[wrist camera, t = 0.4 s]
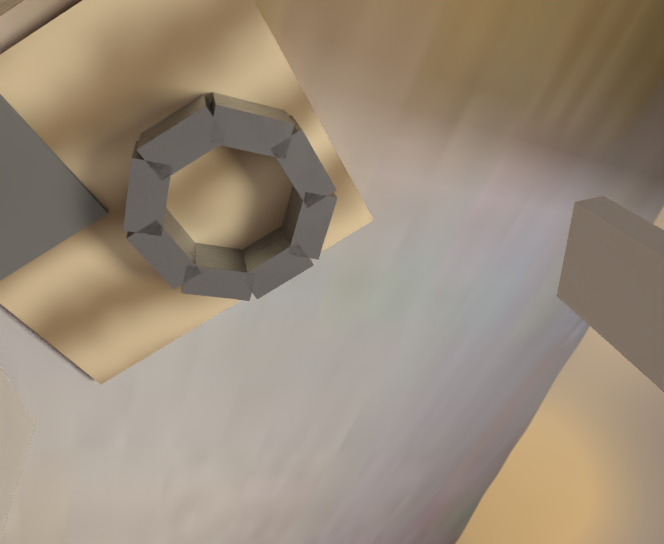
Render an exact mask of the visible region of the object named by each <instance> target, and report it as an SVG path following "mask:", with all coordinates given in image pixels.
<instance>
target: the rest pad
mask: <svg viewBox="0 0 664 544" xmlns="http://www.w3.org/2000/svg"><path fill="white" fill-rule="evenodd" d="M106 214H108V210H107V209H106V208H105V207H104V206H103V205H102V204H101V202H100V201H99V200H98V199H97V198H96V197H95V196H94V195H93V194H92V193H91V192H90V191H89V189H88V188H87V187H86V186H85V185H84V184H83V183H82V182H81V181H80V180H79V179H78V178H77V176H76V175H75V174H74V173H73V172H72V171H71V170H70V169H69V168H68V167H67V166H66V165H65V163H64V162H63V161H62V160H61V159H60V158H59V157H58V156H57V155H56V154H55V153H54V152H53V150H52V149H51V148H50V147H49V146H48V145H47V144H46V143H45V142H44V141H43V140H42V138H41V137H40V136H39V135H38V134H37V133H36V132H35V131H34V130H33V129H32V128H31V127H30V125H29V124H28V123H27V122H26V121H25V120H24V119H23V118H22V117H21V116H20V115H19V114H18V112H17V111H16V110H15V109H14V108H13V107H12V106H11V105H10V104H9V103H8V102H7V101H6V99H5V98H4V97H3V96H2V95H1V94H0V281H1V280H2V279H4V278H6V277H7V276H9V275H10V274H12V273H14V272H15V271H17V270H18V269H20V268H22V267H23V266H25V265H26V264H28V263H29V262H31V261H33V260H34V259H36V258H37V257H39V256H41V255H42V254H44V253H45V252H47V251H49V250H50V249H52V248H53V247H55V246H57V245H58V244H60V243H61V242H63V241H65V240H66V239H68V238H69V237H71V236H73V235H74V234H76V233H77V232H79V231H80V230H82V229H84V228H85V227H87V226H88V225H90V224H92V223H93V222H95V221H96V220H98V219H100V218H101V217H103V216H104V215H106Z"/></svg>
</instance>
